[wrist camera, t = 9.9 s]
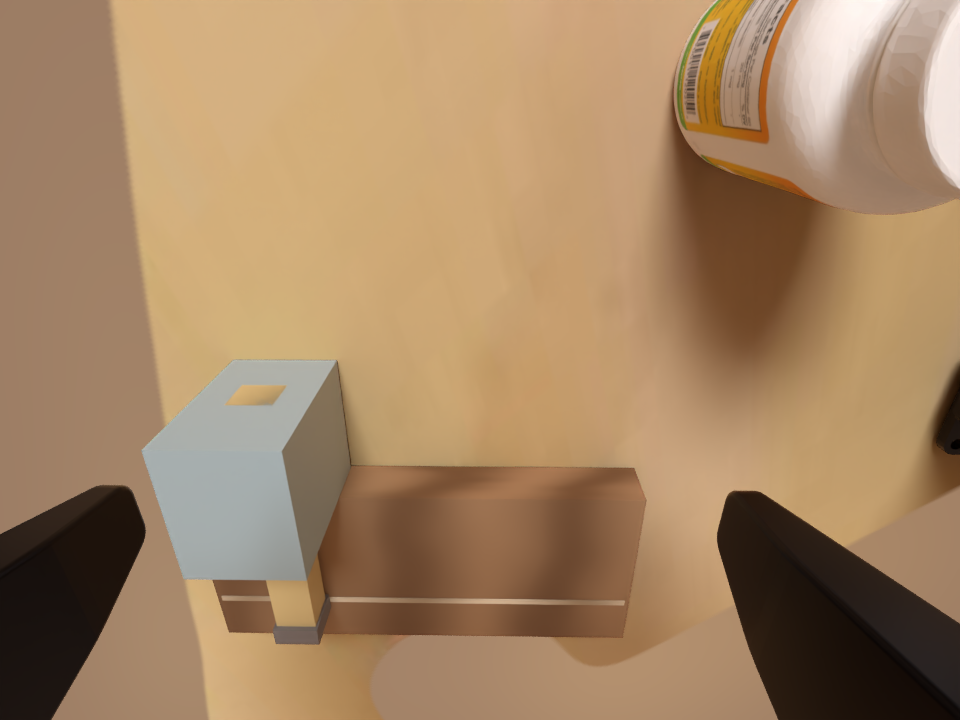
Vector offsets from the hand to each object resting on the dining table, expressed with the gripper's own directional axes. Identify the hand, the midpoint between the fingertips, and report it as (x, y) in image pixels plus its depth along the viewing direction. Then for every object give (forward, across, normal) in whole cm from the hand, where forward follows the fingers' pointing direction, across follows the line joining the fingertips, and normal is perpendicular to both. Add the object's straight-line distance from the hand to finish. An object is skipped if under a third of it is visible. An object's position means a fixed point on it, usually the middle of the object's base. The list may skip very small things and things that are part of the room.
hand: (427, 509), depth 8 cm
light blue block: (+12, +7, +9) cm, 17 cm away
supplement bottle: (+12, -9, -6) cm, 16 cm away
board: (+12, +2, +12) cm, 17 cm away
